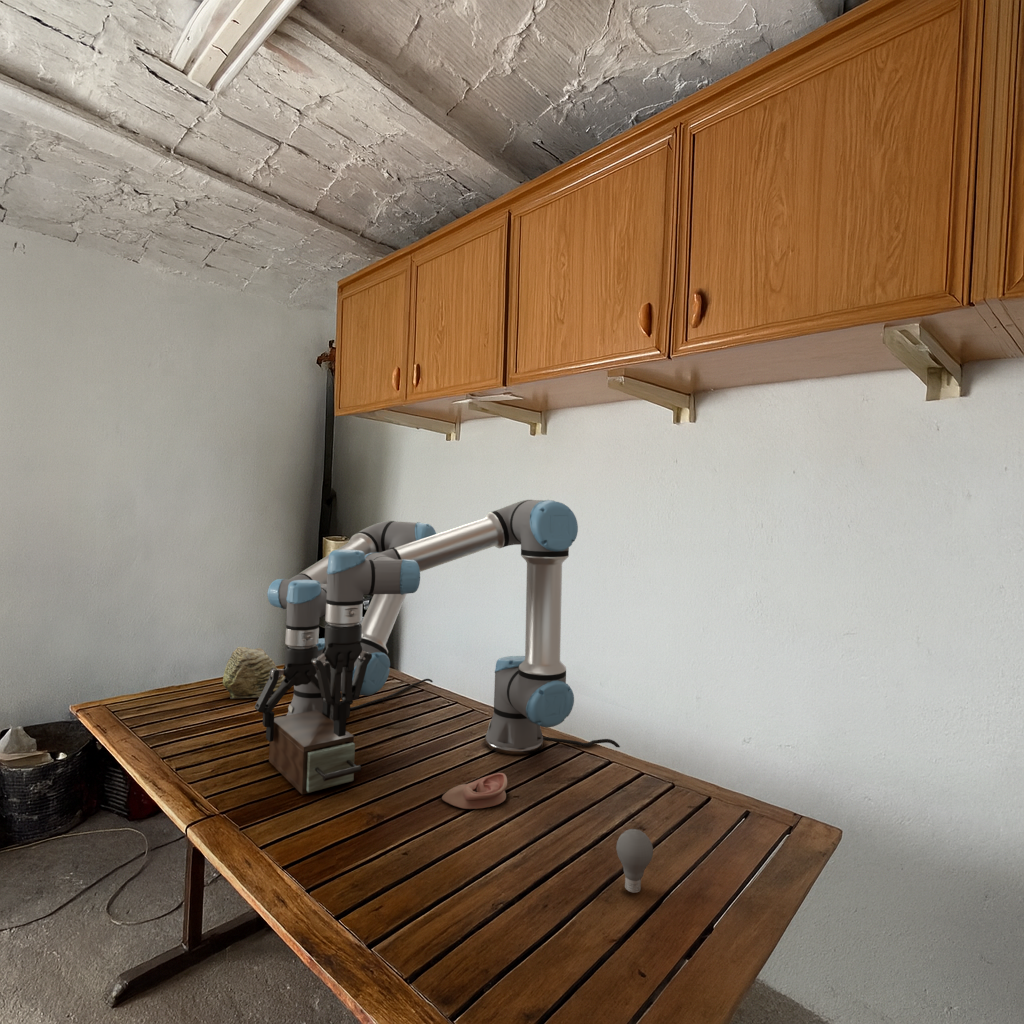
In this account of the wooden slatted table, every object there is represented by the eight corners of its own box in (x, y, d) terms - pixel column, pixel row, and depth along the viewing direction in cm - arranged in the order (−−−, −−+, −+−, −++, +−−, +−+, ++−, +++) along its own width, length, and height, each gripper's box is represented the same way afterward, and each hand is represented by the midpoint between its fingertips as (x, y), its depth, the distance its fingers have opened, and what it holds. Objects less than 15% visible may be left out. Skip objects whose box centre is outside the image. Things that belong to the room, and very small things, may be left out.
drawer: (365, 790, 136) (366, 752, 135) (319, 803, 129) (320, 763, 129) (318, 751, 155) (319, 718, 154) (276, 761, 148) (277, 726, 148)
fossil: (218, 695, 195) (220, 647, 195) (278, 685, 208) (279, 640, 207) (228, 703, 189) (230, 653, 188) (289, 692, 201) (290, 645, 201)
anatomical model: (437, 786, 132) (453, 764, 143) (436, 805, 132) (453, 781, 143) (499, 795, 129) (511, 771, 140) (499, 814, 129) (510, 789, 141)
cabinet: (352, 781, 142) (354, 736, 141) (302, 794, 134) (303, 747, 134) (315, 750, 157) (316, 709, 157) (268, 761, 150) (270, 718, 150)
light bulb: (610, 879, 108) (613, 822, 108) (644, 879, 109) (647, 822, 109) (619, 902, 102) (622, 840, 102) (655, 901, 103) (658, 840, 103)
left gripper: (253, 655, 140) (249, 750, 140) (357, 642, 156) (353, 728, 156) (242, 648, 146) (239, 739, 146) (344, 637, 162) (340, 719, 162)
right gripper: (321, 629, 127) (316, 746, 127) (380, 623, 135) (375, 733, 135) (306, 622, 132) (302, 734, 133) (363, 617, 141) (359, 722, 141)
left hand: (298, 734), depth 151 cm, fingers open, 13 cm apart
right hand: (339, 733), depth 134 cm, fingers closed
